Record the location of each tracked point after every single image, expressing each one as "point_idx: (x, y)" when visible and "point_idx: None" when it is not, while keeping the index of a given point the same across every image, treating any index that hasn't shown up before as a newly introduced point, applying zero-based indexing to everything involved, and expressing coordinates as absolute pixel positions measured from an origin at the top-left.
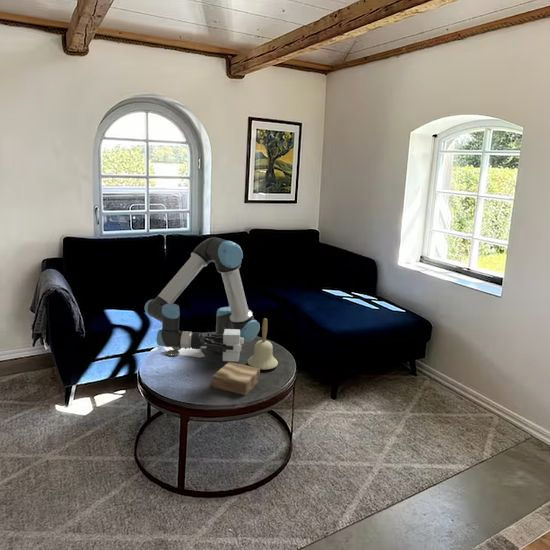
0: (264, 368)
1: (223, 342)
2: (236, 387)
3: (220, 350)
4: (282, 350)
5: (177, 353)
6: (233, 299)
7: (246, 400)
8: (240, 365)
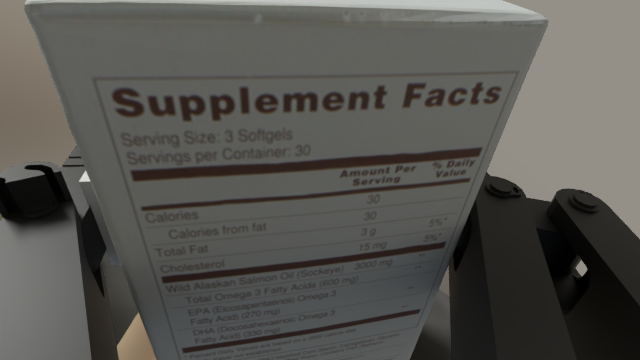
0: None
1: (475, 193)
2: None
3: (587, 277)
4: None
5: None
6: None
7: (435, 298)
8: (136, 349)
